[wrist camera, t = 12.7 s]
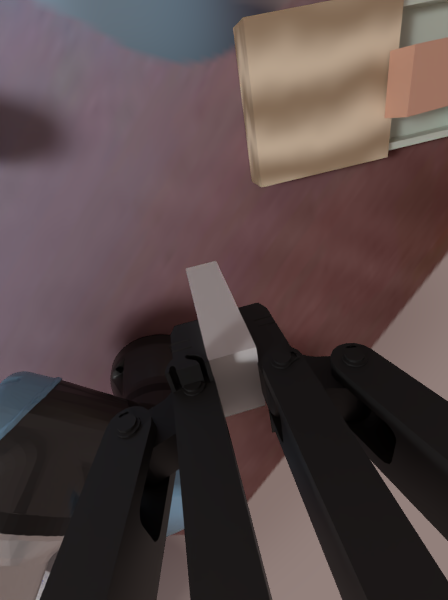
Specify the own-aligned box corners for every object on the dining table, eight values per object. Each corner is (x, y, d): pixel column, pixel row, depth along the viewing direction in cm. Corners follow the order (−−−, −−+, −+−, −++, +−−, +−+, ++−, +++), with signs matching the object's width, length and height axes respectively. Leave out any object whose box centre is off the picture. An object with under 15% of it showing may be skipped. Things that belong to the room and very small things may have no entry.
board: (367, 153, 40) (387, 157, 37) (251, 181, 39) (261, 187, 36) (378, -1, 32) (405, -14, 29) (233, 28, 31) (243, 17, 28)
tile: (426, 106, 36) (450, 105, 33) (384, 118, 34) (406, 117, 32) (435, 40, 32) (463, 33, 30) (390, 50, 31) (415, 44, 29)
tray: (450, 130, 41) (470, 130, 38) (368, 149, 40) (382, 151, 37) (479, -14, 33) (505, -25, 31) (378, 6, 32) (397, -4, 30)
